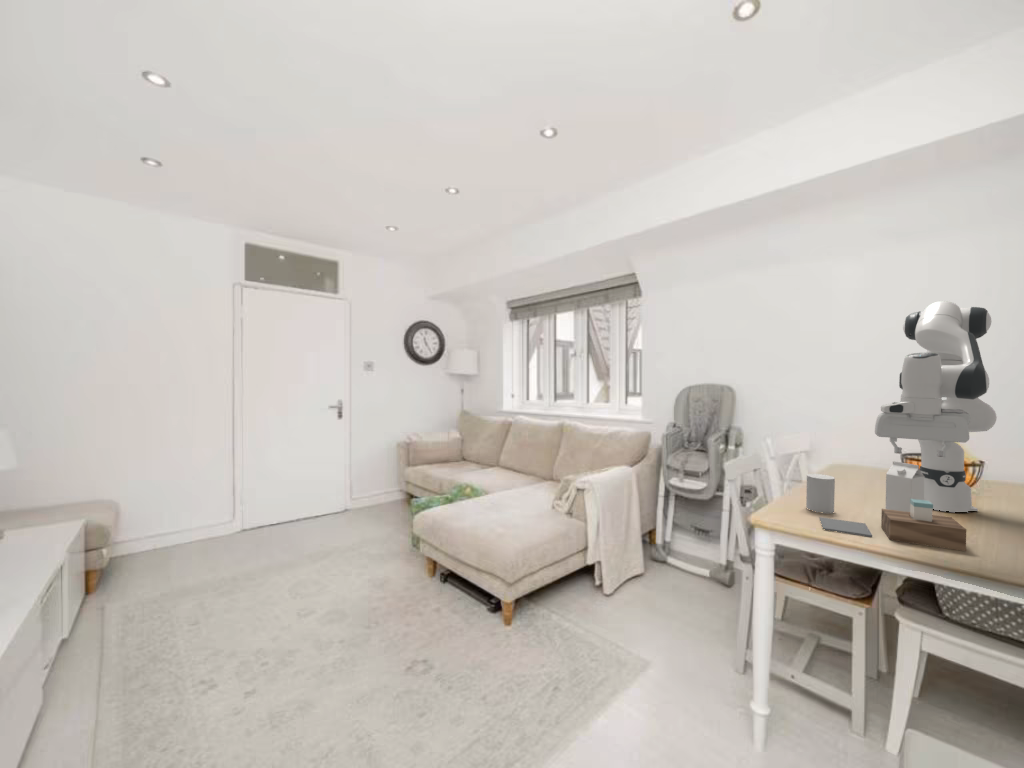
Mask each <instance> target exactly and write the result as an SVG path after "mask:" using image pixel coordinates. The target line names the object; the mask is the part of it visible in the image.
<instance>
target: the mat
mask: <svg viewBox="0 0 1024 768" xmlns="http://www.w3.org/2000/svg"><path fill="white" fill-rule="evenodd" d="M820 521H821V522H820ZM819 522H820V525H821V524H822V525H821V528H822V527H823V528H822V530H823V529H825V530H824V531H827V530H830V531H829V532H834V531H837V532H836V533H841V532H842V534H849V535H856V536H862V537H868V538H873V534H872V532H871V531H870V529H869V528H868V525H867V524H866V523H865V522H858V521H850V520H845V519H844V520H842V519H836V518H831V517H830V518H828V517H824V516H823V517H821V516H820V517H819Z"/></svg>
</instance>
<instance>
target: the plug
mask: <svg viewBox="0 0 1024 768" xmlns="http://www.w3.org/2000/svg"><path fill="white" fill-rule="evenodd" d="M932 515H933V504H932V503H931V502H930V501H926V500H916V499H910V517H911V518H912V519H915V520H922V521H930V522H932Z"/></svg>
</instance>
